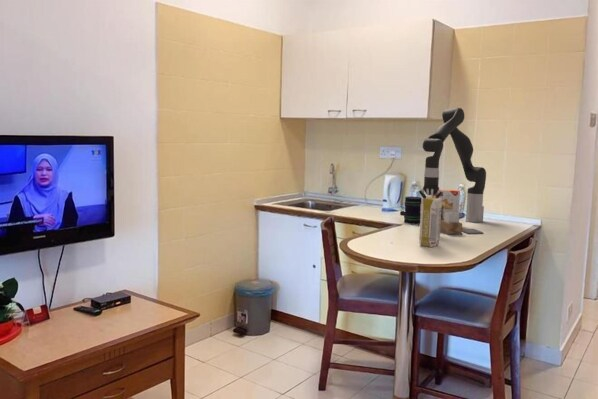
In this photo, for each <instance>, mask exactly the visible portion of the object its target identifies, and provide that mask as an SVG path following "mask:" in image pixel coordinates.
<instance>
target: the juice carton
mask: <svg viewBox="0 0 598 399" xmlns="http://www.w3.org/2000/svg"><path fill="white" fill-rule="evenodd" d="M421 200H422V202H421V217H420V223H419V237H418V238H419V246H421V245H423V246H422V247H426V246H429V247H428V248H433V246H434V247H436V245H437V246H438V245H439V244H440V241H441V240H440V239H441V232H440V225H441V207H442V203H441V198H433V197H432V196H427V195H426V198H423V197H422V199H421Z"/></svg>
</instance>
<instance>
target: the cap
mask: <svg viewBox="0 0 598 399" xmlns="http://www.w3.org/2000/svg"><path fill="white" fill-rule="evenodd" d="M444 222H447V223H459V222H460V213H456V212H445V213H444Z"/></svg>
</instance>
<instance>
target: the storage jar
mask: <svg viewBox="0 0 598 399" xmlns="http://www.w3.org/2000/svg"><path fill="white" fill-rule="evenodd" d="M422 199H423V197H422V196H421V197H420V196H405V197H404V212H403V213H404V215H403V219H404V220H403V223H405V224H409V225H410V224H411V225H416V224H419V225H420V217H421V209H420V207H421V202H422Z"/></svg>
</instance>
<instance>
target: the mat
mask: <svg viewBox="0 0 598 399" xmlns="http://www.w3.org/2000/svg"><path fill="white" fill-rule="evenodd" d="M462 233H464V234H467V235H484V234H485V233H484V232H483V231H480V230H478V229H475V228H462Z"/></svg>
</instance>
